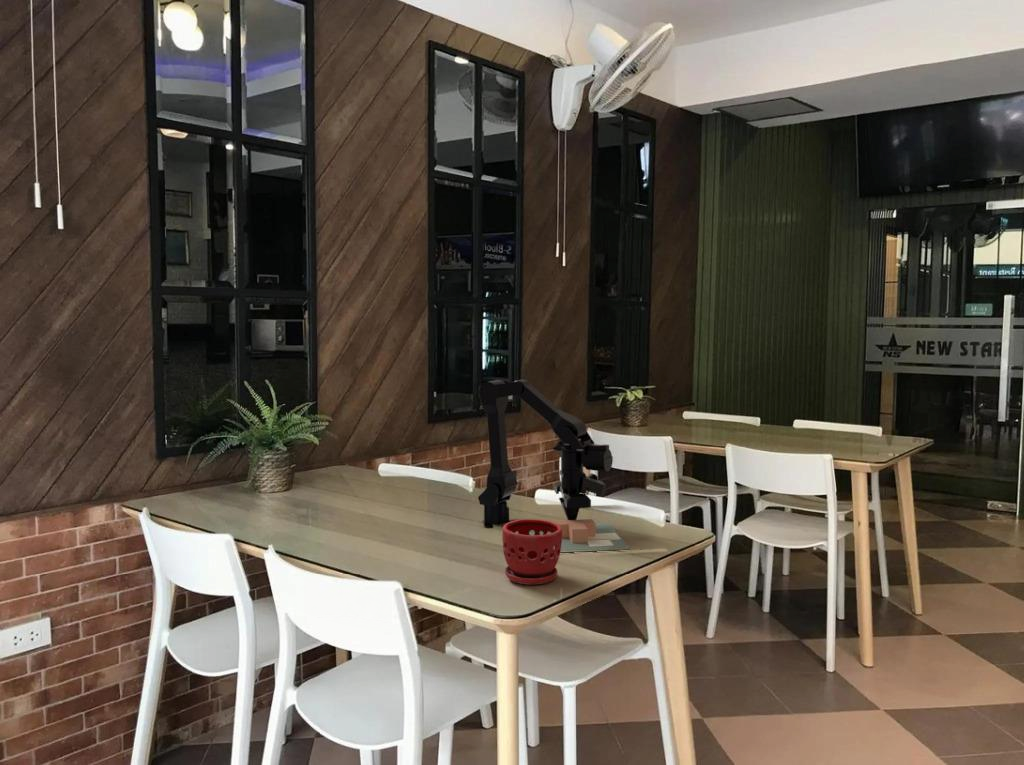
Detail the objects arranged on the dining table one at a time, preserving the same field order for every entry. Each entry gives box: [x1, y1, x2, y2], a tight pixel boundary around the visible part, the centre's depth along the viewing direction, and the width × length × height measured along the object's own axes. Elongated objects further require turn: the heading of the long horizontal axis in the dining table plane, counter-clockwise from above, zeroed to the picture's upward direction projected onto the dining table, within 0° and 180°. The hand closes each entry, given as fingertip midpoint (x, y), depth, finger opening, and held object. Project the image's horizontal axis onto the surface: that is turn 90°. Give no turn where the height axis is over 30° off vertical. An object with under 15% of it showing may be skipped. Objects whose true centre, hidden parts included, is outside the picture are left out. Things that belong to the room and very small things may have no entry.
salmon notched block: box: [553, 518, 596, 543], centre depth 216 cm, size 10×9×4 cm
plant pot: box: [501, 518, 562, 586], centre depth 187 cm, size 13×13×12 cm
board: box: [529, 522, 631, 554], centre depth 218 cm, size 23×24×1 cm
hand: (572, 526), depth 222 cm, fingers closed
